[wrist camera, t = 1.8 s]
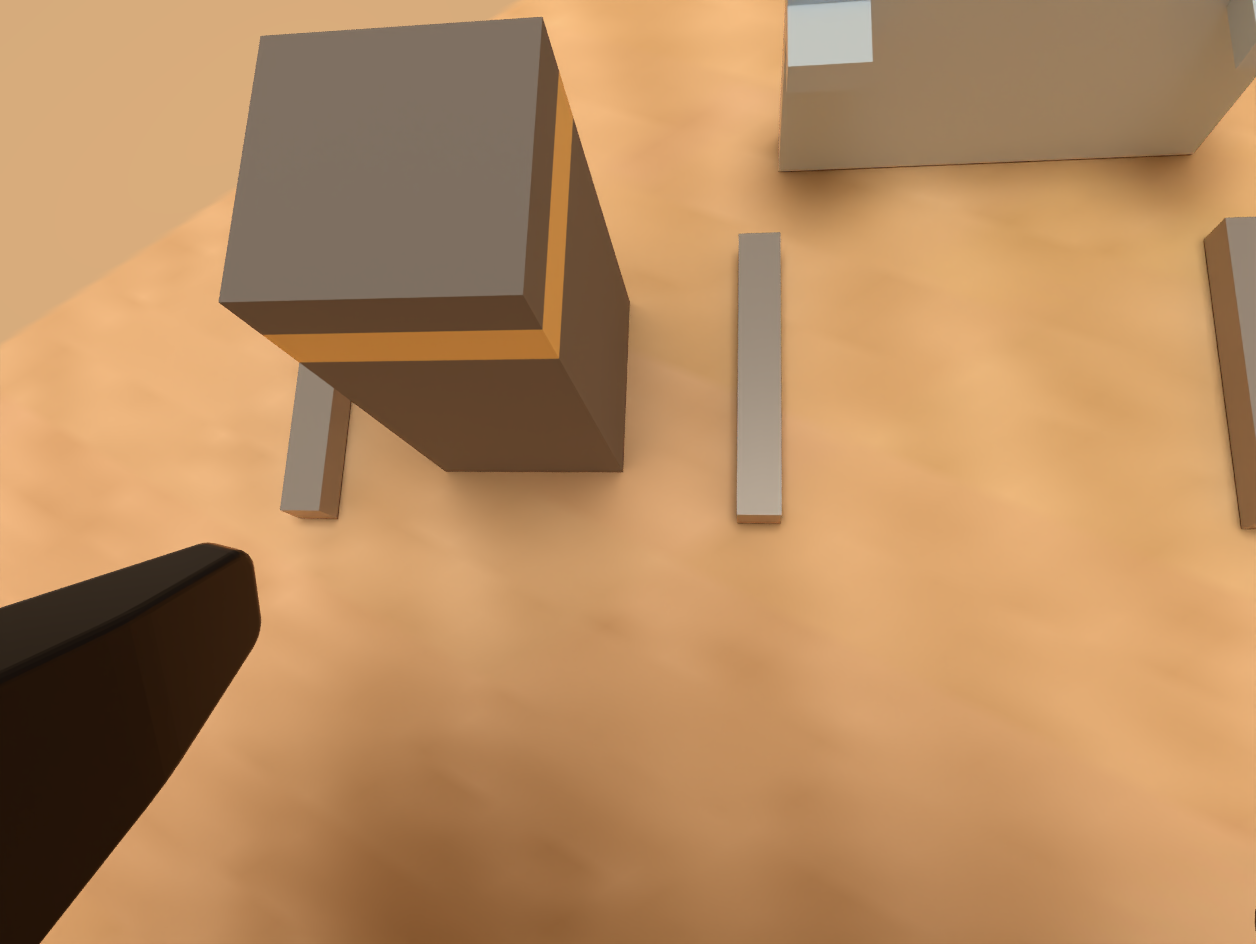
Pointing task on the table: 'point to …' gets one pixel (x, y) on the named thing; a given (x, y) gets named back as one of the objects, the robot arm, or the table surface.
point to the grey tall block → (435, 242)
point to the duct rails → (949, 134)
